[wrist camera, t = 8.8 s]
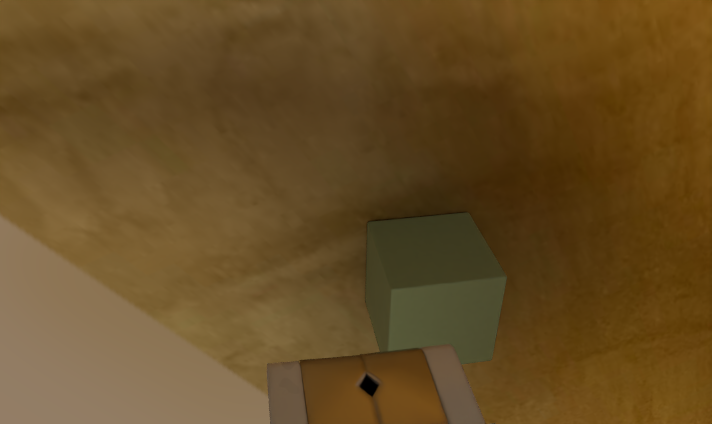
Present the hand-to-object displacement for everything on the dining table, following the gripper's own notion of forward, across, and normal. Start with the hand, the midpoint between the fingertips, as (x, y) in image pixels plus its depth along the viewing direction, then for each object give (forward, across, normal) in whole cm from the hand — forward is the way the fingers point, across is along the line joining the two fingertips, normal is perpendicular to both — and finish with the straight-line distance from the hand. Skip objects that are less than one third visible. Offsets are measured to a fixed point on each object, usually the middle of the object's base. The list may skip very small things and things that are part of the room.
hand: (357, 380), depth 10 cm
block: (+14, +5, -9) cm, 18 cm away
